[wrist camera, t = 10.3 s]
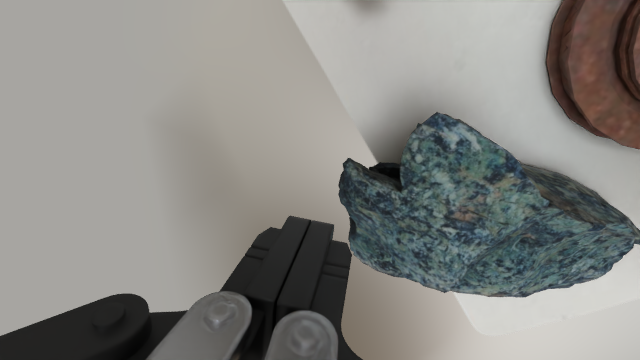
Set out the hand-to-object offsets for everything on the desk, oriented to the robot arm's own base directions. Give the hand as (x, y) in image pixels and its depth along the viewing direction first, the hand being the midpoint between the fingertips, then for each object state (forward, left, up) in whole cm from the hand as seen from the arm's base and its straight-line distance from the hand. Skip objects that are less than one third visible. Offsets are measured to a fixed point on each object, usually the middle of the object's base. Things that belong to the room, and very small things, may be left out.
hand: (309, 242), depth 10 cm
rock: (+9, -14, -28) cm, 32 cm away
